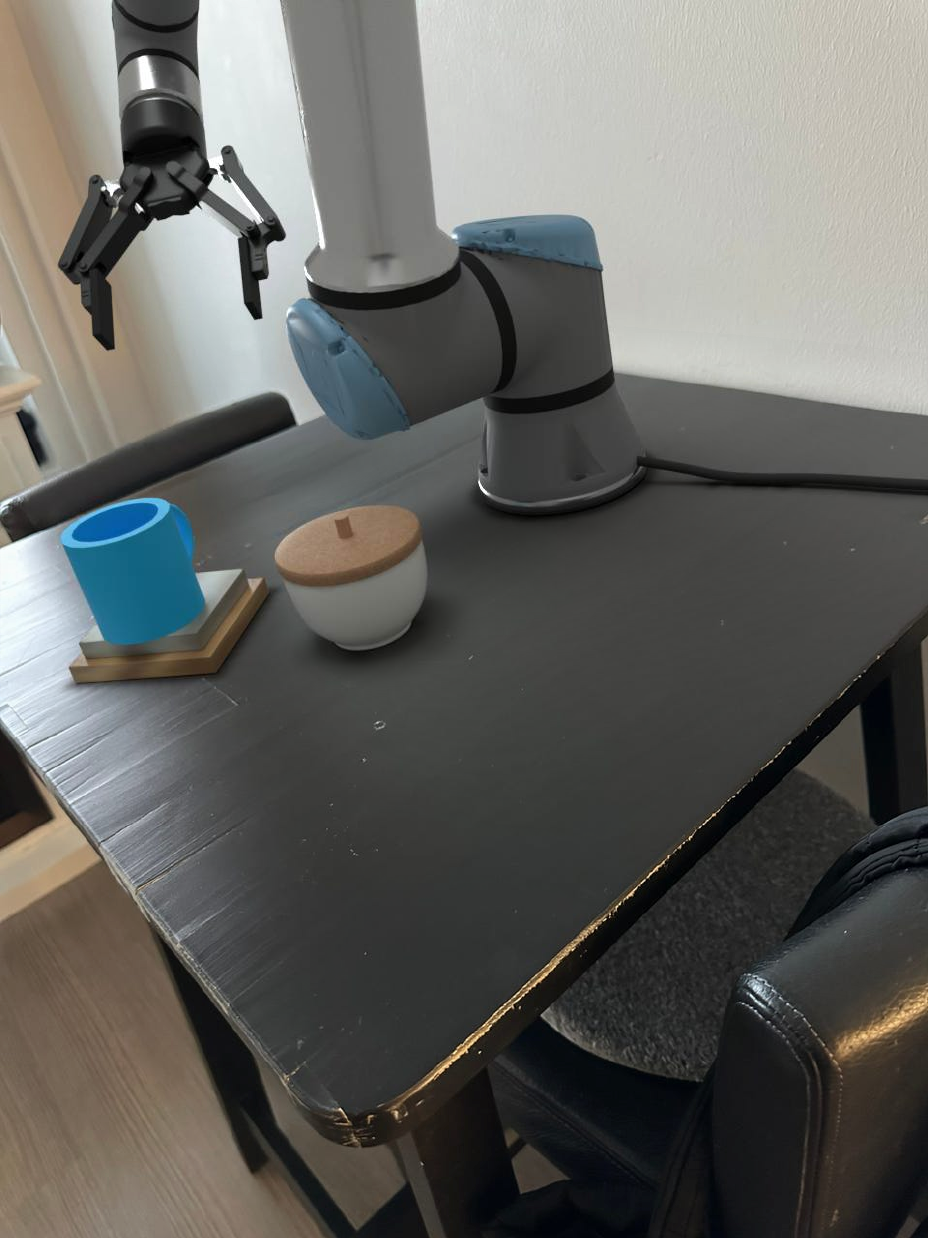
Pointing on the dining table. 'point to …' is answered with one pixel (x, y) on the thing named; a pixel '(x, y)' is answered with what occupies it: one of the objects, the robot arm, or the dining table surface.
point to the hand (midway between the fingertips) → (178, 327)
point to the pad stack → (179, 636)
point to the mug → (136, 569)
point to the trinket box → (356, 574)
